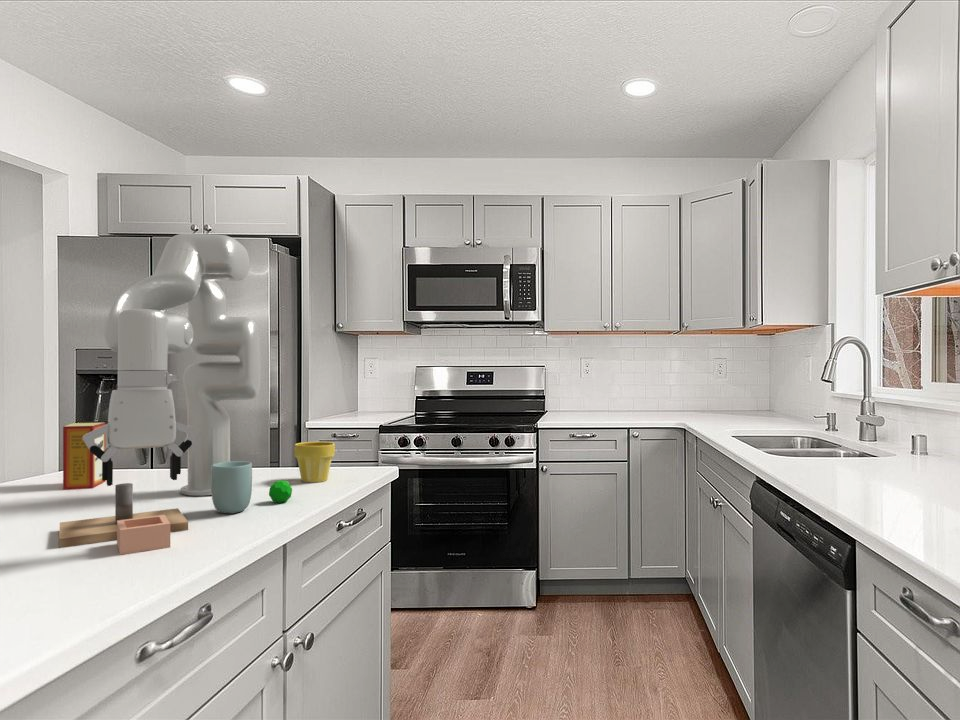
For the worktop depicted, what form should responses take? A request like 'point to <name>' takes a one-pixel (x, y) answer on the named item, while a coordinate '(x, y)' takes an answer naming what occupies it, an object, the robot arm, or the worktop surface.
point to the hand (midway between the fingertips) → (142, 481)
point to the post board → (113, 521)
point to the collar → (143, 534)
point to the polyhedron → (280, 491)
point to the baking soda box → (81, 457)
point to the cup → (231, 486)
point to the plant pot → (314, 460)
